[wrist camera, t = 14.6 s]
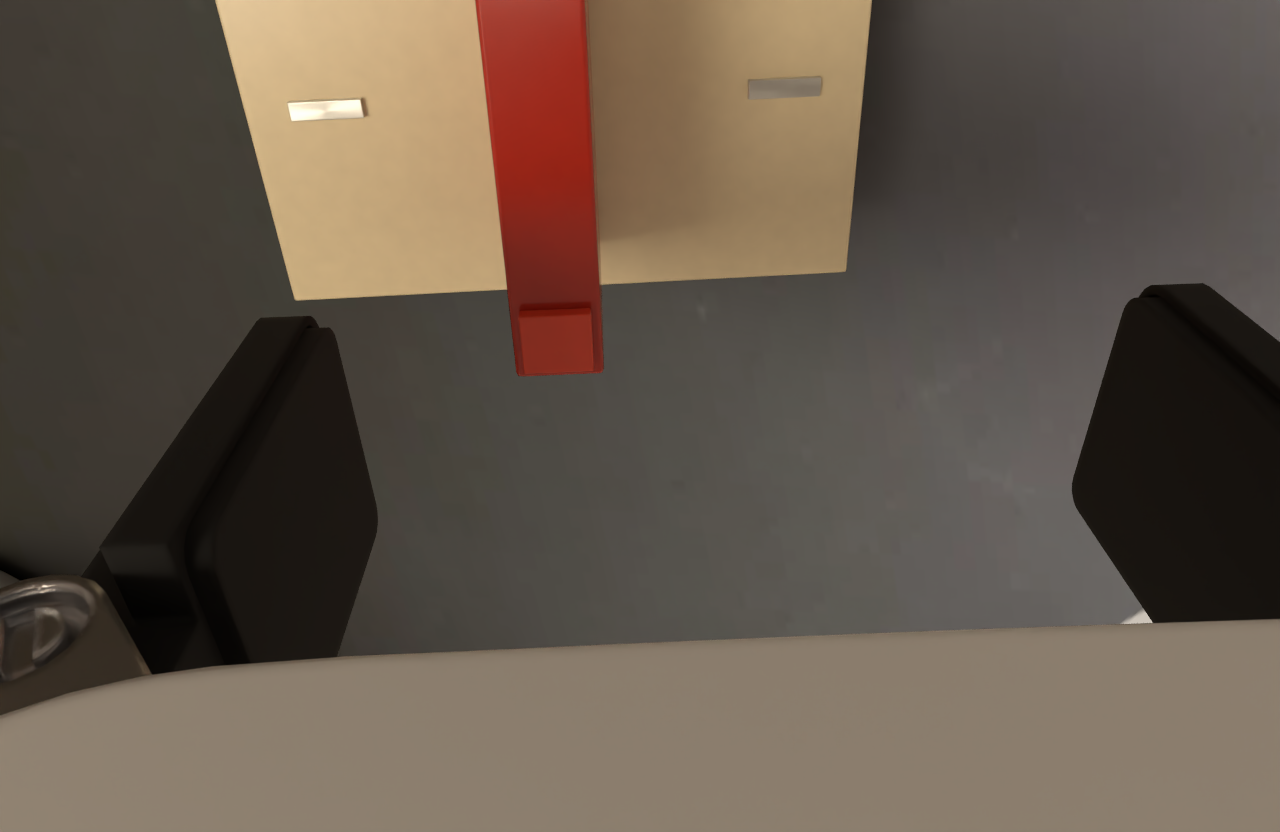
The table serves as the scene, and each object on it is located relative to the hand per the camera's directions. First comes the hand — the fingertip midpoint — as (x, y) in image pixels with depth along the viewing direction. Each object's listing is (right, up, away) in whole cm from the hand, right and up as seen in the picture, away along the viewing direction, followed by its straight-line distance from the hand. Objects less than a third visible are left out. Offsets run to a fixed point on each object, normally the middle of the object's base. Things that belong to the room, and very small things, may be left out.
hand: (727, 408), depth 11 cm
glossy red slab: (-3, +6, +6) cm, 9 cm away
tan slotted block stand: (-3, +8, +10) cm, 13 cm away
